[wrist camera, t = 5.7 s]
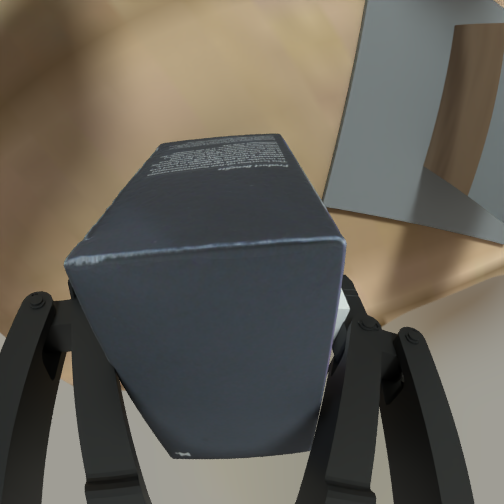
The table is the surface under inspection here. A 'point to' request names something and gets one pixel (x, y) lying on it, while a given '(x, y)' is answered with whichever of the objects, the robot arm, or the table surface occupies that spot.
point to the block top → (492, 161)
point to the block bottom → (466, 103)
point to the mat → (404, 118)
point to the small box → (217, 296)
